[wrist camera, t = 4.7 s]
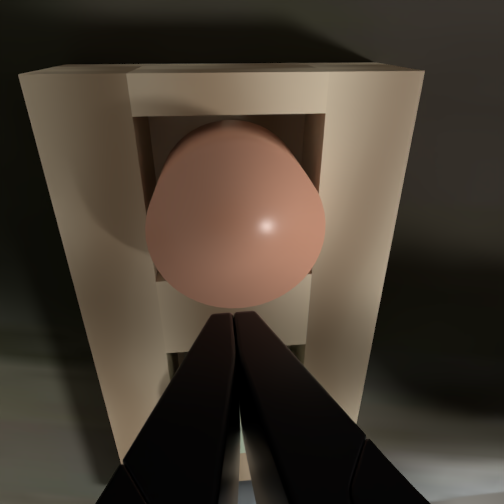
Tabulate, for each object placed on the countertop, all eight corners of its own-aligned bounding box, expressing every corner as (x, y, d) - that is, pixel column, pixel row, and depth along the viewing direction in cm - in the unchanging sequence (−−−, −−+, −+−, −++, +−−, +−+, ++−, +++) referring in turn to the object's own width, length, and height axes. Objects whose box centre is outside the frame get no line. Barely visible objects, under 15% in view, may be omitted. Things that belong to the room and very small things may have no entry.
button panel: (375, 62, 13) (424, 70, 10) (318, 475, 24) (334, 538, 21) (65, 64, 12) (18, 74, 9) (154, 490, 23) (145, 558, 20)
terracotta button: (305, 118, 11) (334, 143, 9) (297, 251, 13) (318, 303, 11) (150, 121, 11) (132, 147, 8) (167, 257, 13) (156, 312, 11)
